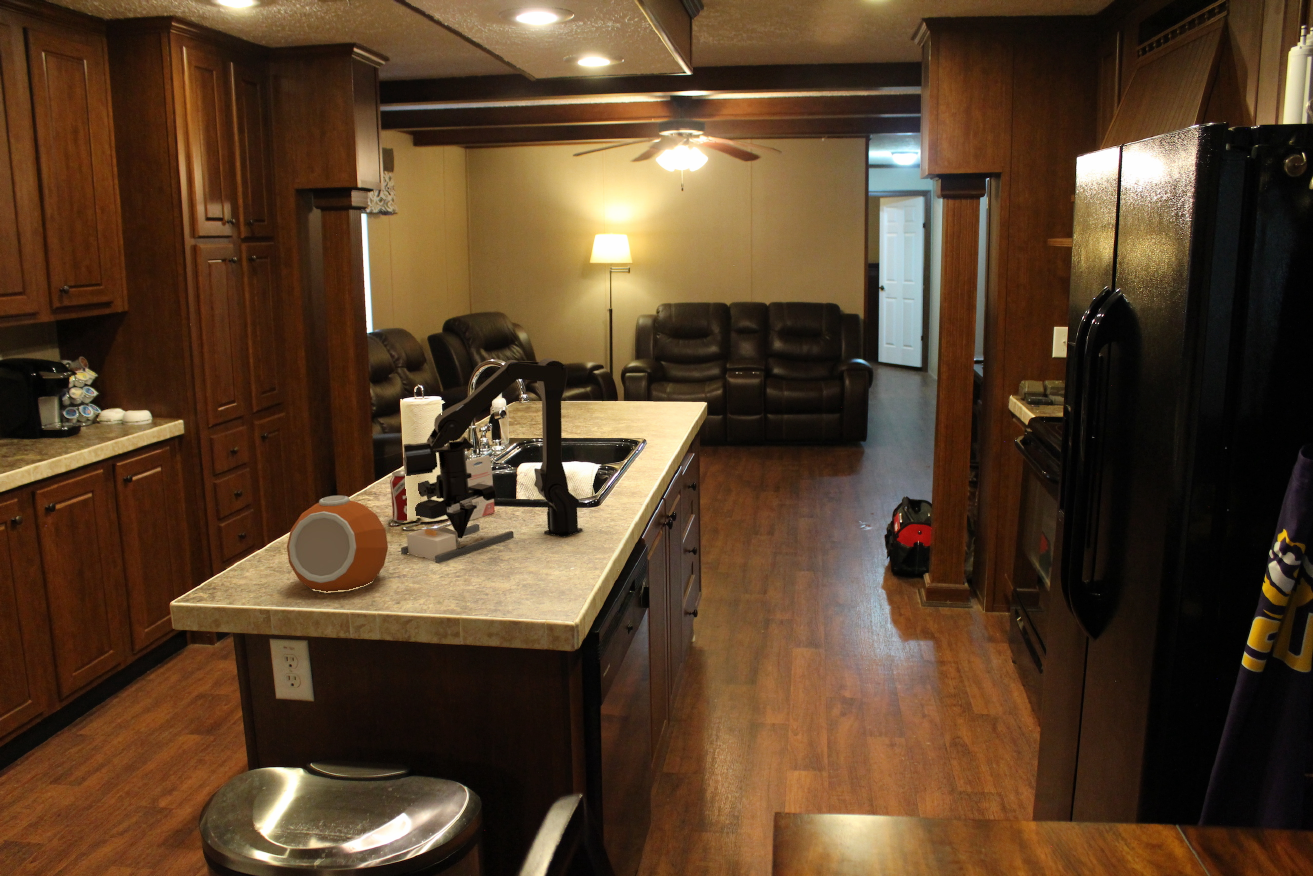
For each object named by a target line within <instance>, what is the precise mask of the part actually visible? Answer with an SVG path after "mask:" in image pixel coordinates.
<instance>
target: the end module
mask: <svg viewBox="0 0 1313 876" xmlns="http://www.w3.org/2000/svg"><path fill="white" fill-rule="evenodd" d="M406 543H407V546H408V553H409V554H408V555H410V554H413V555H412V556H414V555H417V556H416V557H419V556H420V557H419V558H423V557H425V558H424V559H426V560H431V561H435V556H436V555H439V554H442V553H445V552H448V551H451V550H454V549H457V548H456V538H455V535H453V534H448V533H444V532H439V531H436V530H434V529H431V528H421V529H419V530H415V531H412V532H409V533H406Z"/></svg>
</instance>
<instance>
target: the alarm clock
mask: <svg viewBox="0 0 1313 876" xmlns="http://www.w3.org/2000/svg"><path fill="white" fill-rule="evenodd" d="M286 544H287V545H286V550H287V558H288V563H289V565H290V567H291V569H292V571H293V573H294V574H295V576H296V578H297V579H298V580H299V581H300V582H301V583H302V584H303V585H305V586H307V587H308V588H309V589H310V588H311V589H315V590H321V591H326V592H328V591H338V590H349V589H353V588H356V587H360V586H364V585H366V584H368V583H370V582H372V581H373V582H374V581H375V580H376V578H377V576H378V575H379V574H380V572H381V571H382V570H383V567H384V566H385V562H386V558H387V553H388V550H389V544H388V539H387V531H386V528H385V527H384V525H383V523H382V521H381V519H380V518H379V516H378V515H377V514H376V513H375V512H374V511H372V510H371V509H370V508H369V507H367V506H366V505H364V504H363V503H360V502H358V501H355V500H351V499H350V498H349V496H346V495H330V496H325V497H323V498H321V499H319V500H318V502H317V503H315V504H314V505H312V506H311V507H310V508H308V509H307V510H305V511H304V512H302V513H301V514H300V516H299V517H298V519H297V520H296V521H295V523H294V525H293V526H292V528H291V529H290V532H289V535H288V540H287V543H286ZM373 582H372V583H373ZM311 589H310V590H311Z"/></svg>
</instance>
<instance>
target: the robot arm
mask: <svg viewBox="0 0 1313 876" xmlns="http://www.w3.org/2000/svg"><path fill="white" fill-rule="evenodd" d="M518 380H524V381H533V382H536V384H537V387H538V391H539V394H540V397H541V413H542V414H541V416H542V417H541V419H542V420H541V421H542V423H541V424H542V425H541V426H542V463H541V466H540V468H534V469H533V470H534V477H535V480H534V481H535V482H534V485H533V486H534V487H535V488H536V489H537V491H538V494H539V495H540V496H542V497H543V499H544V500H546V502H547V503H548V504H549V505H547V512H546V519H547V529H546V530H544V531H543V533H544V534H545V535H551V536H555V537H561V538H566V537H570V536H572V535H575V534H578V533H580V532H583V531H584V529H583V528H581V527H579V522H578V506H579V503H580V500H579V499H578V498H577V497H576V496H574V495H573V494H572V493H571V492H570V490H569V484H568V479H567V474H566V471H565V469H564V464H563V452H562V451H563V449H562V448H563V446H562V445H563V443H562V441H563V439H562V438H563V435H562V434H563V433H562V399H563V397H564V394H565V390H566V388H567V387H566V386H567V380H568V368H567V367H566V365H565V364H564V363H563V362H561V361H558V360H557V359H553V358H550V357H546V358H542V359H541V360H539V361H529V360H526V361H525V360H524V361H523V360H519V361H518V360H514V359H509V360H506V361H505V362H504V364H503V365H502V366H501V367H500V368H499V369H498V370H497V371H496V372H495V373H493V374H492V375H491V376H490V377H489V378H488V379H487V380H485V381H484V382H483V383H482V384H481V385H480V386H479V387H477V388H476V389H475V390H474V391H473V392H472V393H470V394H469V395H468V396H467V397H466V398H465V399H463V400H462V401H460V402H457V403H456V404H454V405H451V406H450V407H448V408H446V409H444V410H443V411H442V412H440V413H439V414H437V415H436V417H435V419H434V422H433V426H434V428H433V430H432V431H431V433H430V434H429V436H428V438H427V440H426V442H420V443H419V442H418V443H405V444H403V445H402V446H403V447H402V448H403V458H402V461H403V470H405V474H406V476H411V475H417V476H418V475H424V474H432V473H434V472H433V471H435V470H436V468H437V469H438V464H439V472H440V474H436V479H435V480H436V481H435V482H432V483H431V482H430V481H429V480H423V481H421V482H419V483H418V491H419V494H420V498H424V497H426V500H423V501H421V502H420V503H418V504H417V505H416V507H415V511H416V516H420V517H421V518H424V519H425V518H426V519H430V520H435V519H438V518H442V517H447V519H448V521H449V522H450V524H451V526H452V528H453V530H454V531H456V532H457V536H458V539H463V538H464V536H463V535H464V532H465V530H466V527H468V525H469V522H470V521H471V520H470V518H471V516H472V514H473V511H474V509H476V508H477V505H473V502H472V500H473V499H476V498H479V497H482V496H483V498H484V499H485V500H486V501H489V500H492V499H494V500H495V499H496V498H497V492H496V489H495V488H494V485H493V486H491V485H485V484H475V485H472V486H469V487H468V479H469V478H472V477H471V473H467V466H466V461H467V458H466V455H467V454H466V450H471V449H473V448H474V447H475V445H474V444H473V442H472V441H470V440H468V438H467V437H466V436H465V435H464V434H465V433H466V432H467V430H468V429H469V428H470V427H471V425H472V424H473V421H474V420H475V419H476V418H477V416H478V415H479V414H480V413H481V412H482V411H483V410H484V409H485V408H486V407H487V406H488V405H491V403H492V402H493V401H494V400H496V399H497V398H498V397H499V396H500V395H502V393H504V392H505V391H506V390H507V389H509V387H510V386H511V385H513V384H514V383H515V382H516V381H518ZM441 413H442V415H441ZM437 453H438V457H437ZM438 461H439V463H438ZM434 497H435V498H436V499H439V500H436V499H432V498H434ZM440 499H441V500H440Z"/></svg>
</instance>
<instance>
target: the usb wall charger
mask: <svg viewBox="0 0 1313 876" xmlns="http://www.w3.org/2000/svg"><path fill="white" fill-rule="evenodd" d="M433 530H436V531H439V532H444V533H448V534H453V535H455V538H456V549H457V548H459V545H460V543H461V541H460V540H459V538H458V536H457V532H456V531H455V530H454V529H451V528H449V527H446V526H443V527H439V528H436V529H435V528H434V529H433Z"/></svg>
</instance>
